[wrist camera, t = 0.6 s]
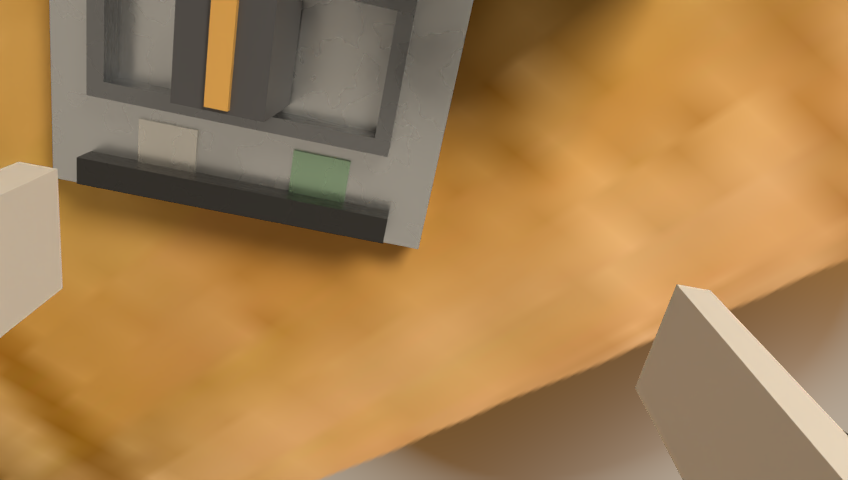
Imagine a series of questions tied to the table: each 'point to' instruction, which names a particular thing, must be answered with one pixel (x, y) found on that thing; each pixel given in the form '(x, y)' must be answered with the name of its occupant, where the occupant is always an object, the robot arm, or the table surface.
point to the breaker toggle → (235, 55)
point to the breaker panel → (278, 136)
